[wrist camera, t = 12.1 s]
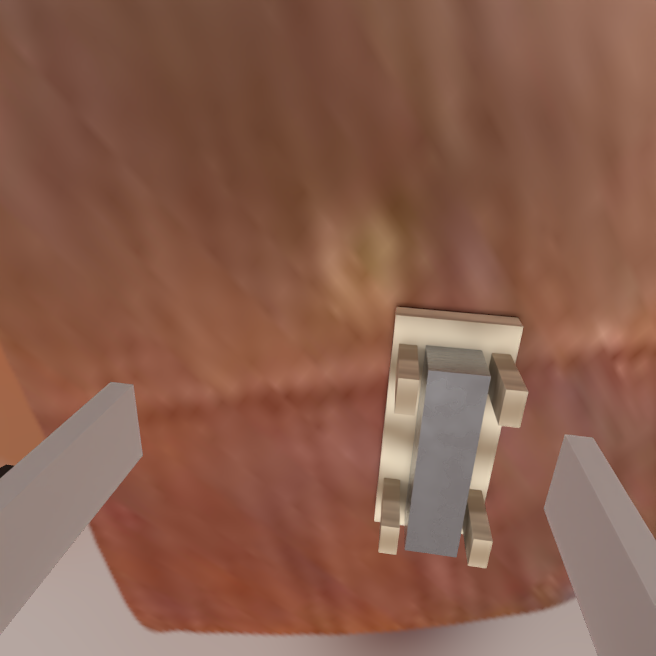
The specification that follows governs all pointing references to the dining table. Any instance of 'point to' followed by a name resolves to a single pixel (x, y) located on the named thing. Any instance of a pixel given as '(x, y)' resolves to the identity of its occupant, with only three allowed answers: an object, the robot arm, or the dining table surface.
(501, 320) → the rack
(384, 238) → the dining table surface
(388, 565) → the dining table surface
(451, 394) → the bar
